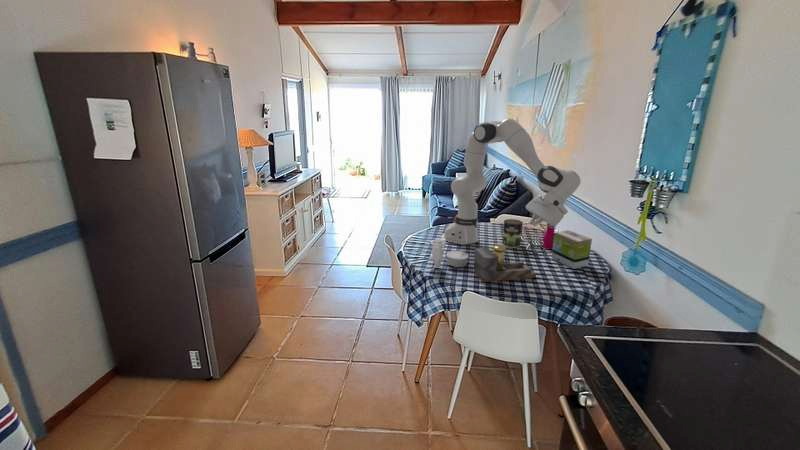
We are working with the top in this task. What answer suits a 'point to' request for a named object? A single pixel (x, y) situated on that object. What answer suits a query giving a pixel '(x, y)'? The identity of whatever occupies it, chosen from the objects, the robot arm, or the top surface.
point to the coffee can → (512, 233)
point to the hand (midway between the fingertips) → (531, 224)
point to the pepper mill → (549, 237)
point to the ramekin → (457, 258)
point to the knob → (499, 256)
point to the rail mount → (488, 265)
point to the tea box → (571, 249)
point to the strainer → (438, 252)
